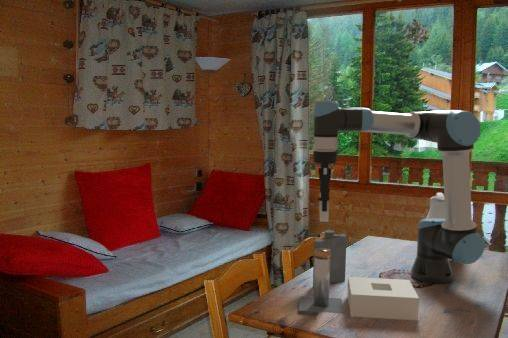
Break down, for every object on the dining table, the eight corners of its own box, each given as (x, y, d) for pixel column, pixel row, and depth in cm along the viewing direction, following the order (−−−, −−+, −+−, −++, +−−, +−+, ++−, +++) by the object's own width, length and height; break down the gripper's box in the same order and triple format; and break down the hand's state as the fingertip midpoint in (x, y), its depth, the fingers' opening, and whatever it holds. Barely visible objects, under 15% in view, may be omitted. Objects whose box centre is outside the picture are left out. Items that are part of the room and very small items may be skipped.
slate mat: (341, 301, 162) (341, 298, 162) (343, 316, 150) (343, 313, 150) (300, 299, 164) (300, 296, 164) (298, 313, 152) (298, 310, 152)
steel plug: (328, 301, 159) (330, 248, 157) (329, 307, 154) (330, 252, 152) (313, 300, 160) (314, 247, 157) (313, 306, 155) (314, 251, 152)
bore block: (407, 302, 161) (409, 279, 160) (417, 323, 145) (419, 298, 144) (347, 299, 164) (348, 276, 163) (350, 319, 148) (351, 294, 147)
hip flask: (317, 289, 173) (318, 235, 170) (309, 286, 176) (310, 233, 173) (346, 280, 182) (348, 228, 180) (338, 277, 186) (340, 226, 183)
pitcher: (462, 265, 201) (466, 200, 198) (420, 261, 206) (423, 197, 203) (455, 250, 224) (459, 191, 221) (417, 247, 229) (420, 189, 226)
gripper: (313, 147, 164) (312, 208, 166) (312, 153, 139) (311, 225, 142) (335, 147, 163) (334, 209, 165) (339, 154, 138) (337, 226, 141)
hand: (323, 216), depth 153 cm, fingers open, 13 cm apart
